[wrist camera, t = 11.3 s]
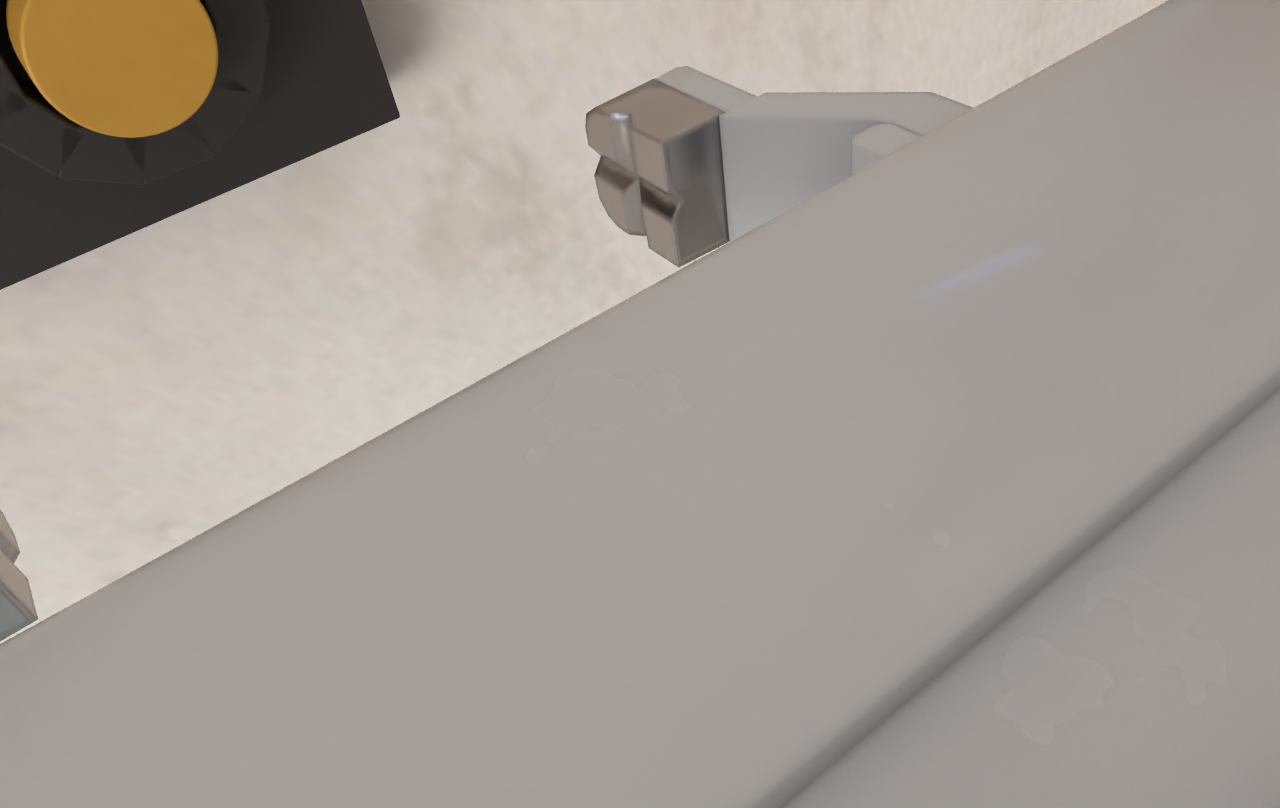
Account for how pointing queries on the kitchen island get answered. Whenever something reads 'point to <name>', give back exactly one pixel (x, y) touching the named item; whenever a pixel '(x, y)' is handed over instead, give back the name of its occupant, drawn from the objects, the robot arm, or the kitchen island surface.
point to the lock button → (117, 60)
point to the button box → (185, 130)
